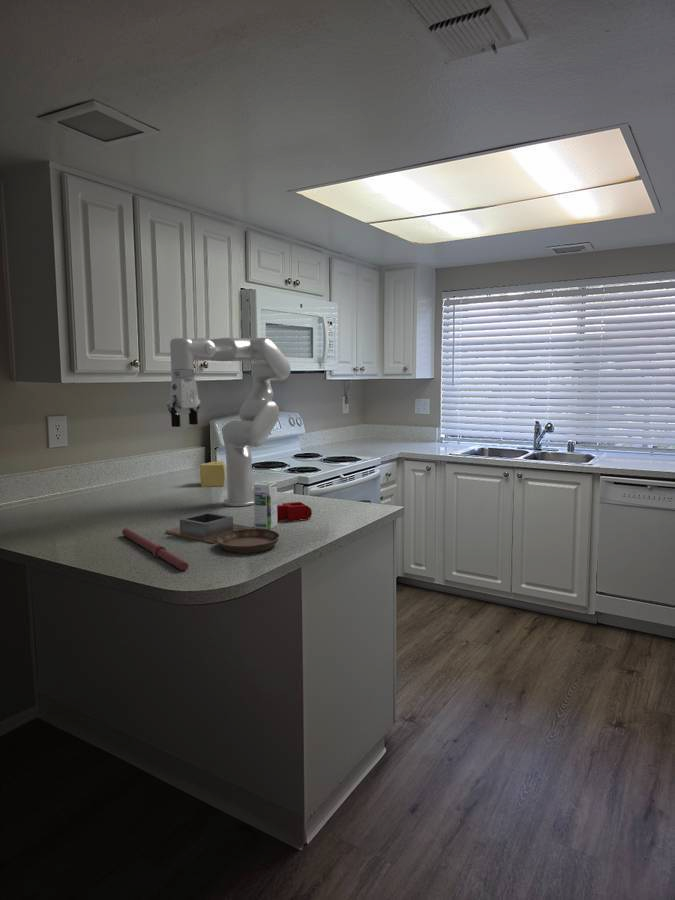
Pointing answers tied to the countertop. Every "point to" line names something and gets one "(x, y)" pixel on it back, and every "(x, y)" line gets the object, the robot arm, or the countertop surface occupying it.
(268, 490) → the syrup box
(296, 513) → the mechanical linkage
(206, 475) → the cheese
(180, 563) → the rolling pin
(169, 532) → the collar
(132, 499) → the countertop surface
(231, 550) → the plant saucer
